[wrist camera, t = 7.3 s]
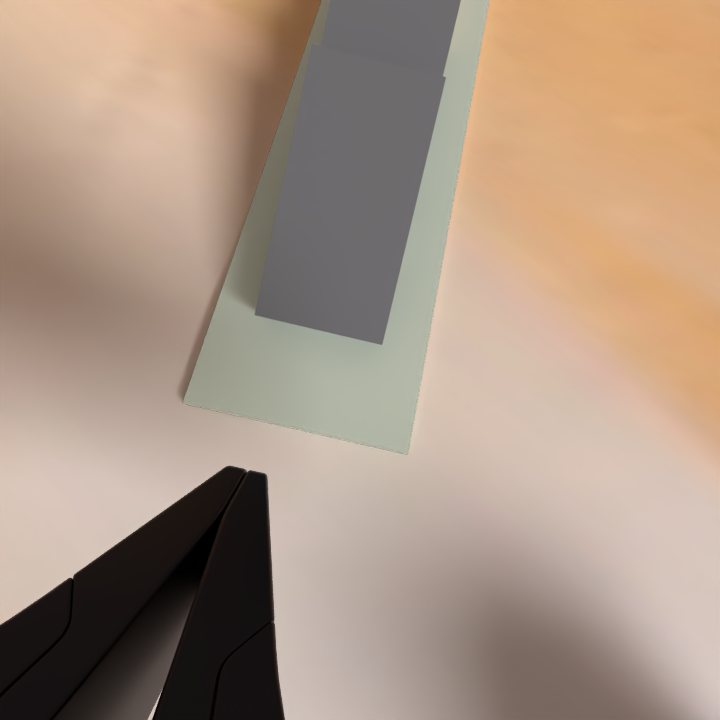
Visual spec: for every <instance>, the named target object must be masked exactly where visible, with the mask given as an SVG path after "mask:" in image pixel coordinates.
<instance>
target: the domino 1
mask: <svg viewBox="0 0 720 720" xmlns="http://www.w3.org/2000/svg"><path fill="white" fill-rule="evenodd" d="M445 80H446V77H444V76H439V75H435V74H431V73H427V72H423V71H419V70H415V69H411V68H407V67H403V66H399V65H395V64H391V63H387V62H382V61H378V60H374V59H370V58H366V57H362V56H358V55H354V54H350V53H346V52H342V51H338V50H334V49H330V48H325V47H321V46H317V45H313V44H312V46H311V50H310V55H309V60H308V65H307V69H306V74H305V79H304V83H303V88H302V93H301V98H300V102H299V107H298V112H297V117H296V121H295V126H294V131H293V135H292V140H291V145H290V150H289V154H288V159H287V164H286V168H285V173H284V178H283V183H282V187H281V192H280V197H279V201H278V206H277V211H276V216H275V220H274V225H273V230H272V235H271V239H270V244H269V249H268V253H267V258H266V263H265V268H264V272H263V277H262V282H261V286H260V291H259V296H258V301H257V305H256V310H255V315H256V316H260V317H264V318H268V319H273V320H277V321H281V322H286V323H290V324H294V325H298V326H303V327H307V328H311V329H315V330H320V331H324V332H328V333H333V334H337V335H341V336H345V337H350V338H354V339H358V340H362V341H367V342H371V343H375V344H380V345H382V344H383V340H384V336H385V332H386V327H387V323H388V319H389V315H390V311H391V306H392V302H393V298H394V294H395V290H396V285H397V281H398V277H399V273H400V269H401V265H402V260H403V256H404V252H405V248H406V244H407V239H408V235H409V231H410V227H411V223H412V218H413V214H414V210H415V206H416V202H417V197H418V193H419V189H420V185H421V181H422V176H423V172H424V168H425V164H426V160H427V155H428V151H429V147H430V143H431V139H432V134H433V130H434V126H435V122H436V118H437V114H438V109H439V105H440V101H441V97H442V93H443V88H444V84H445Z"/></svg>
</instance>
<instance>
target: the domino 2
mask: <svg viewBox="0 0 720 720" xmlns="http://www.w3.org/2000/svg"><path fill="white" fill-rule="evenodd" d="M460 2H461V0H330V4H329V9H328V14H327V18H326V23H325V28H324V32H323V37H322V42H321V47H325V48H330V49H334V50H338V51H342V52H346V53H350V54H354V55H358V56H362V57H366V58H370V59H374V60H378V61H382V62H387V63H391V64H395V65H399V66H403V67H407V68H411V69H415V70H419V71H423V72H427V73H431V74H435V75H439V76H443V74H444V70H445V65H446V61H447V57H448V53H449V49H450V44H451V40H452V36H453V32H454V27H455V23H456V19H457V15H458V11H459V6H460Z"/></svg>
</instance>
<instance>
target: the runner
mask: <svg viewBox="0 0 720 720" xmlns="http://www.w3.org/2000/svg"><path fill="white" fill-rule="evenodd" d="M329 4H330V0H322V1H321V4H320V7H319V10H318V13H317V15H316V18H315V21H314V24H313V27H312V30H311V33H310V36H309V39H308V41H307V44H306V47H305V50H304V53H303V56H302V59H301V62H300V65H299V68H298V70H297V73H296V76H295V79H294V82H293V85H292V88H291V91H290V94H289V96H288V99H287V102H286V105H285V108H284V111H283V114H282V117H281V120H280V122H279V125H278V128H277V131H276V134H275V137H274V140H273V143H272V146H271V149H270V151H269V154H268V157H267V160H266V163H265V166H264V169H263V172H262V175H261V177H260V180H259V183H258V186H257V189H256V192H255V195H254V198H253V201H252V203H251V206H250V209H249V212H248V215H247V218H246V221H245V224H244V227H243V230H242V232H241V235H240V238H239V241H238V244H237V247H236V250H235V253H234V256H233V258H232V261H231V264H230V267H229V270H228V273H227V276H226V279H225V282H224V284H223V287H222V290H221V293H220V296H219V299H218V302H217V305H216V308H215V311H214V313H213V316H212V319H211V322H210V325H209V328H208V331H207V334H206V337H205V339H204V342H203V345H202V348H201V351H200V354H199V357H198V360H197V363H196V365H195V368H194V371H193V374H192V377H191V380H190V383H189V386H188V389H187V391H186V394H185V397H184V400H183V403H184V404H188V405H192V406H197V407H201V408H205V409H210V410H214V411H218V412H223V413H227V414H232V415H236V416H240V417H245V418H249V419H253V420H258V421H262V422H267V423H271V424H275V425H280V426H284V427H288V428H293V429H297V430H301V431H306V432H310V433H315V434H319V435H323V436H328V437H332V438H336V439H341V440H345V441H350V442H354V443H358V444H363V445H367V446H371V447H376V448H380V449H385V450H389V451H393V452H398V453H402V454H406V455H407V454H408V452H409V446H410V441H411V435H412V430H413V424H414V418H415V413H416V407H417V402H418V396H419V391H420V385H421V379H422V374H423V368H424V363H425V357H426V352H427V346H428V340H429V335H430V329H431V324H432V318H433V312H434V307H435V301H436V296H437V290H438V285H439V279H440V273H441V268H442V262H443V257H444V251H445V246H446V240H447V234H448V229H449V223H450V218H451V212H452V206H453V201H454V195H455V190H456V184H457V179H458V173H459V167H460V162H461V156H462V151H463V145H464V139H465V134H466V128H467V123H468V117H469V112H470V106H471V100H472V95H473V89H474V84H475V78H476V73H477V67H478V61H479V56H480V50H481V45H482V39H483V33H484V28H485V22H486V17H487V11H488V6H489V0H461V2H460V6H459V11H458V15H457V19H456V23H455V27H454V32H453V36H452V40H451V44H450V49H449V53H448V57H447V61H446V65H445V70H444V74H443V76H444V77H446V80H445V84H444V88H443V93H442V97H441V101H440V105H439V109H438V114H437V118H436V122H435V126H434V130H433V134H432V139H431V143H430V147H429V151H428V155H427V160H426V164H425V168H424V172H423V176H422V181H421V185H420V189H419V193H418V197H417V202H416V206H415V210H414V214H413V218H412V223H411V227H410V231H409V235H408V239H407V244H406V248H405V252H404V256H403V260H402V265H401V269H400V273H399V277H398V281H397V285H396V290H395V294H394V298H393V302H392V306H391V311H390V315H389V319H388V323H387V327H386V332H385V336H384V340H383V344H382V345H380V344H375V343H371V342H367V341H362V340H358V339H354V338H350V337H345V336H341V335H337V334H333V333H328V332H324V331H320V330H315V329H311V328H307V327H303V326H298V325H294V324H290V323H286V322H281V321H277V320H273V319H268V318H264V317H260V316H256V315H255V310H256V305H257V301H258V296H259V291H260V286H261V282H262V277H263V272H264V268H265V263H266V258H267V253H268V249H269V244H270V239H271V235H272V230H273V225H274V220H275V216H276V211H277V206H278V201H279V197H280V192H281V187H282V183H283V178H284V173H285V168H286V164H287V159H288V154H289V150H290V145H291V140H292V135H293V131H294V126H295V121H296V117H297V112H298V107H299V102H300V98H301V93H302V88H303V83H304V79H305V74H306V69H307V65H308V60H309V55H310V50H311V46H312V44H313V45H317V46H321V42H322V37H323V32H324V28H325V23H326V18H327V14H328V9H329Z"/></svg>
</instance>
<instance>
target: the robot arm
mask: <svg viewBox="0 0 720 720" xmlns="http://www.w3.org/2000/svg"><path fill="white" fill-rule="evenodd" d="M162 689H163V690H162ZM161 691H162V693H161ZM160 693H161V696H160V699H159V701H158V704H157V707H156V710H155V713H154V716H153V719H152V720H285V717H284V710H283V704H282V697H281V690H280V684H279V676H278V664H277V652H276V636H275V624H274V600H273V580H272V560H271V540H270V520H269V500H268V480H267V475H266V474H265V473H260V472H256V471H252V470H250V471H248V472H247V471H246V470H245V469H243V468H238V467H234V466H227V467H225V468H223V469H222V470H221V471H219V472H218V473H216V474H215V475H213V476H212V477H211V478H209V479H208V480H206V481H205V482H204V483H202V484H201V485H199V486H198V487H197V488H195V489H194V490H192V491H191V492H190V493H188V494H187V495H185V496H184V497H183V498H181V499H180V500H178V501H177V502H176V503H174V504H173V505H171V506H170V507H168V508H167V509H166V510H164V511H163V512H161V513H160V514H159V515H157V516H156V517H154V518H153V519H152V520H150V521H149V522H147V523H146V524H145V525H143V526H142V527H140V528H139V529H138V530H136V531H135V532H133V533H132V534H131V535H129V536H128V537H126V538H125V539H123V540H122V541H121V542H119V543H118V544H116V545H115V546H114V547H112V548H111V549H109V550H108V551H107V552H105V553H104V554H102V555H101V556H100V557H98V558H97V559H95V560H94V561H93V562H91V563H90V564H88V565H87V566H86V567H84V568H83V569H81V570H80V571H79V572H77V573H76V574H74V576H73V579H72V578H68V579H67V580H66V581H64V582H63V583H61V584H60V585H59V586H57V587H56V588H54V589H53V590H51V591H50V592H49V593H47V594H46V595H44V596H43V597H41V598H40V599H38V600H37V601H35V602H34V603H33V604H31V605H30V606H28V607H27V608H25V609H24V610H22V611H21V612H19V613H18V614H16V615H15V616H13V617H12V618H10V619H9V620H7V621H6V622H4V623H3V624H1V625H0V720H147V719H148V717H149V715H150V713H151V711H152V709H153V707H154V705H155V703H156V701H157V699H158V697H159V695H160Z"/></svg>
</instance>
